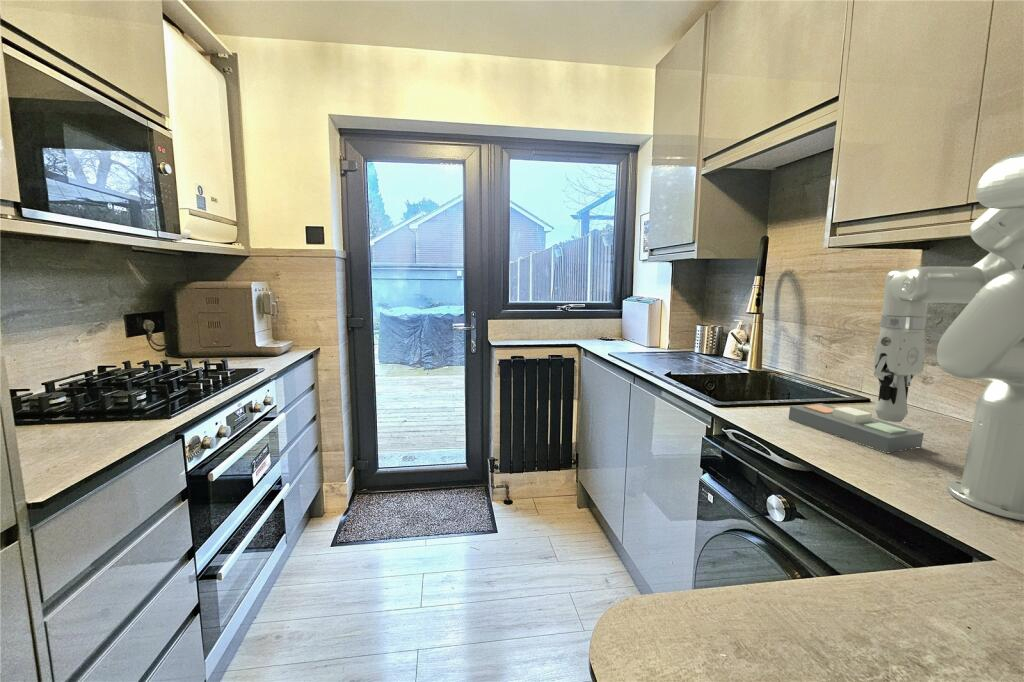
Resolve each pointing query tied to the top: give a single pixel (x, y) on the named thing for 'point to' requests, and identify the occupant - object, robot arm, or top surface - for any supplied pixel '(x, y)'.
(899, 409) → the salt shaker
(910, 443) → the keypad
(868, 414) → the key cream
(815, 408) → the key terracotta
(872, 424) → the key sage
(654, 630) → the top surface
